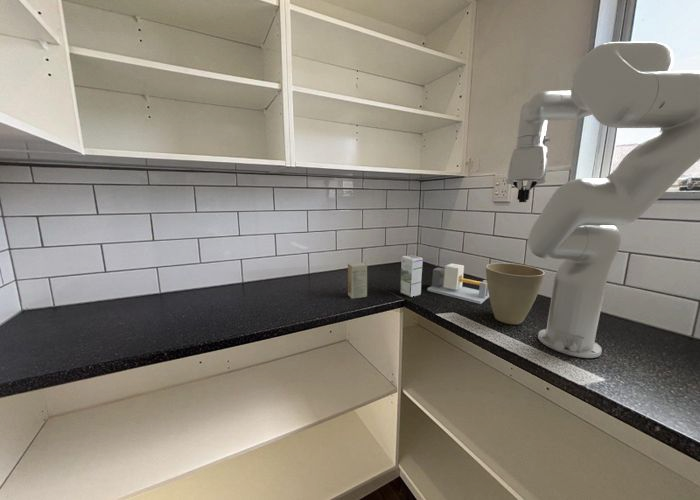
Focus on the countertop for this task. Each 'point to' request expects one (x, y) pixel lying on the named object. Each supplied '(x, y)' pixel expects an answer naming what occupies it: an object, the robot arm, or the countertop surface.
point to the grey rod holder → (462, 292)
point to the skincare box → (357, 280)
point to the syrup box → (411, 275)
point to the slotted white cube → (453, 276)
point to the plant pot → (512, 290)
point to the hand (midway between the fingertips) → (522, 202)
